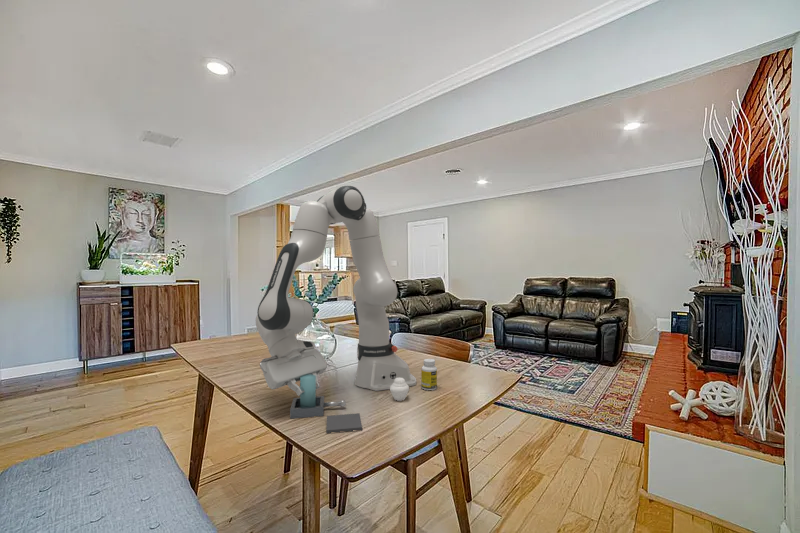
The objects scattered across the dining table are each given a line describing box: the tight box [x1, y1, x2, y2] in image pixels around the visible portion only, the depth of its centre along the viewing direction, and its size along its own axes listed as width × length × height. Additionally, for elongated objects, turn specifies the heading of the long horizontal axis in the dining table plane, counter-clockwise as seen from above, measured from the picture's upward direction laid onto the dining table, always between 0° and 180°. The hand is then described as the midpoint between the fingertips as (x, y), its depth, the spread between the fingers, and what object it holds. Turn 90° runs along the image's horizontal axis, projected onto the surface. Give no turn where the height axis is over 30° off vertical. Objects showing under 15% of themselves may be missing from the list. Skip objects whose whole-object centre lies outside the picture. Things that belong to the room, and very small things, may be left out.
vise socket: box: [289, 395, 347, 420], centre depth 104 cm, size 16×9×2 cm, turn 101°
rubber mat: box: [325, 413, 363, 434], centre depth 94 cm, size 9×9×1 cm
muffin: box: [389, 377, 410, 402], centre depth 113 cm, size 6×6×7 cm
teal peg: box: [299, 375, 317, 408], centre depth 103 cm, size 4×4×10 cm
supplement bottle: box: [420, 358, 438, 391], centre depth 123 cm, size 5×5×10 cm
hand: (309, 391), depth 103 cm, fingers closed on teal peg, 4 cm apart
